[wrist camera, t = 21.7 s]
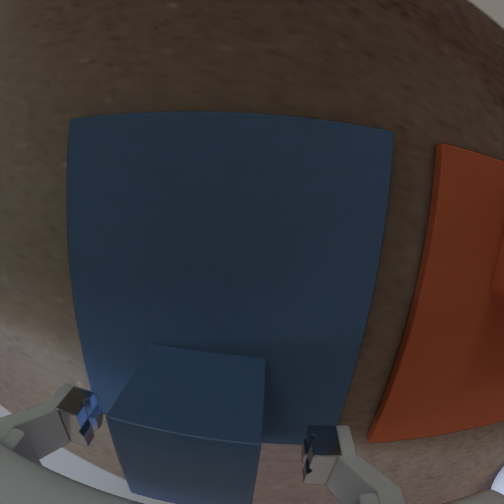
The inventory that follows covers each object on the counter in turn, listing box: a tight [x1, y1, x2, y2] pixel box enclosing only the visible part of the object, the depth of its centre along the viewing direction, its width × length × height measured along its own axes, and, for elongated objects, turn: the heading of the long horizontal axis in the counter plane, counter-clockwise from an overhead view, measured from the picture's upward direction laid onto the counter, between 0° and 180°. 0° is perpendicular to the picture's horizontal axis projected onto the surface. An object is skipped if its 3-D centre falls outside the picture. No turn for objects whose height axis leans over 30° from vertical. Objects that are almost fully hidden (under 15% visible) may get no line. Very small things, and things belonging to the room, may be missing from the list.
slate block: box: [106, 344, 266, 504], centre depth 10 cm, size 5×5×5 cm
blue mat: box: [67, 111, 394, 444], centre depth 12 cm, size 14×12×1 cm
